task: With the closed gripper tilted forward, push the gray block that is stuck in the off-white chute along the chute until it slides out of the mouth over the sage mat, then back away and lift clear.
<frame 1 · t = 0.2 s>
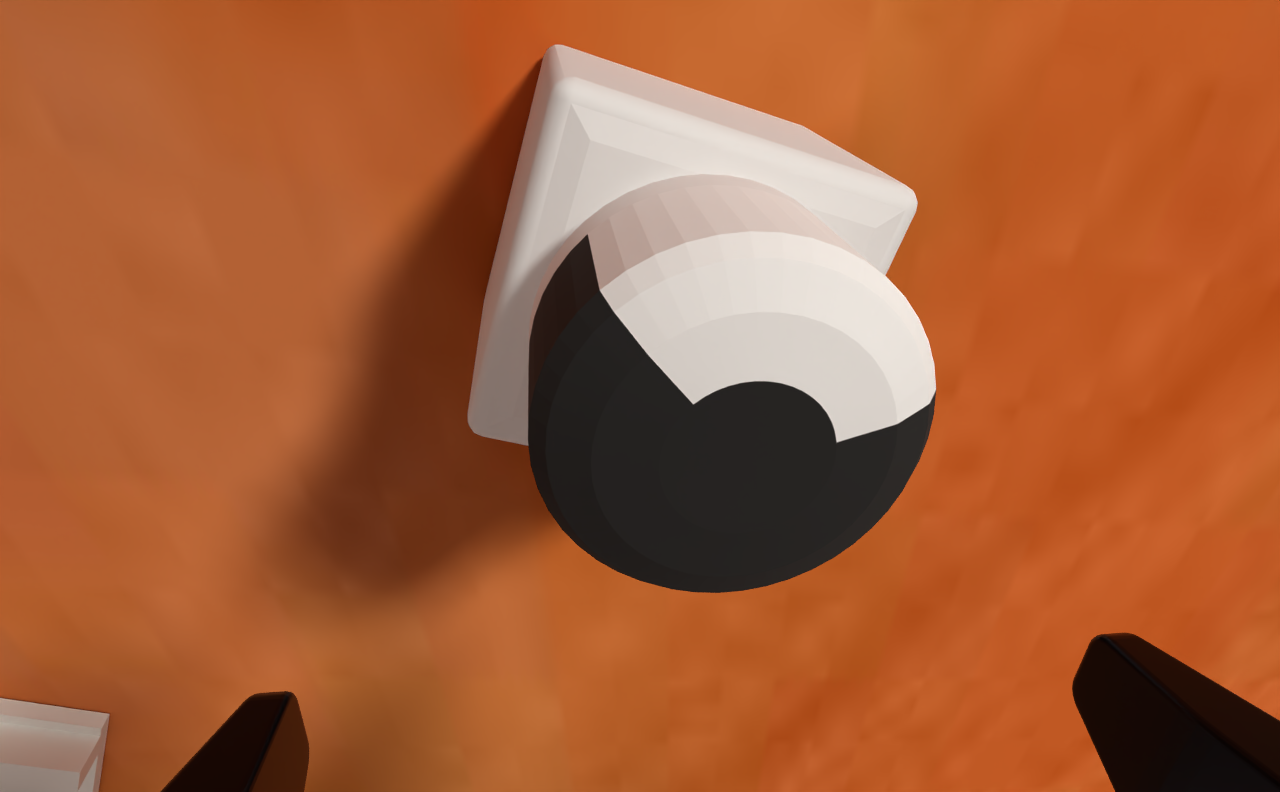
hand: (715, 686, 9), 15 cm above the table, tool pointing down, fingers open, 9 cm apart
medicine bottle: (640, 217, 21), on the table
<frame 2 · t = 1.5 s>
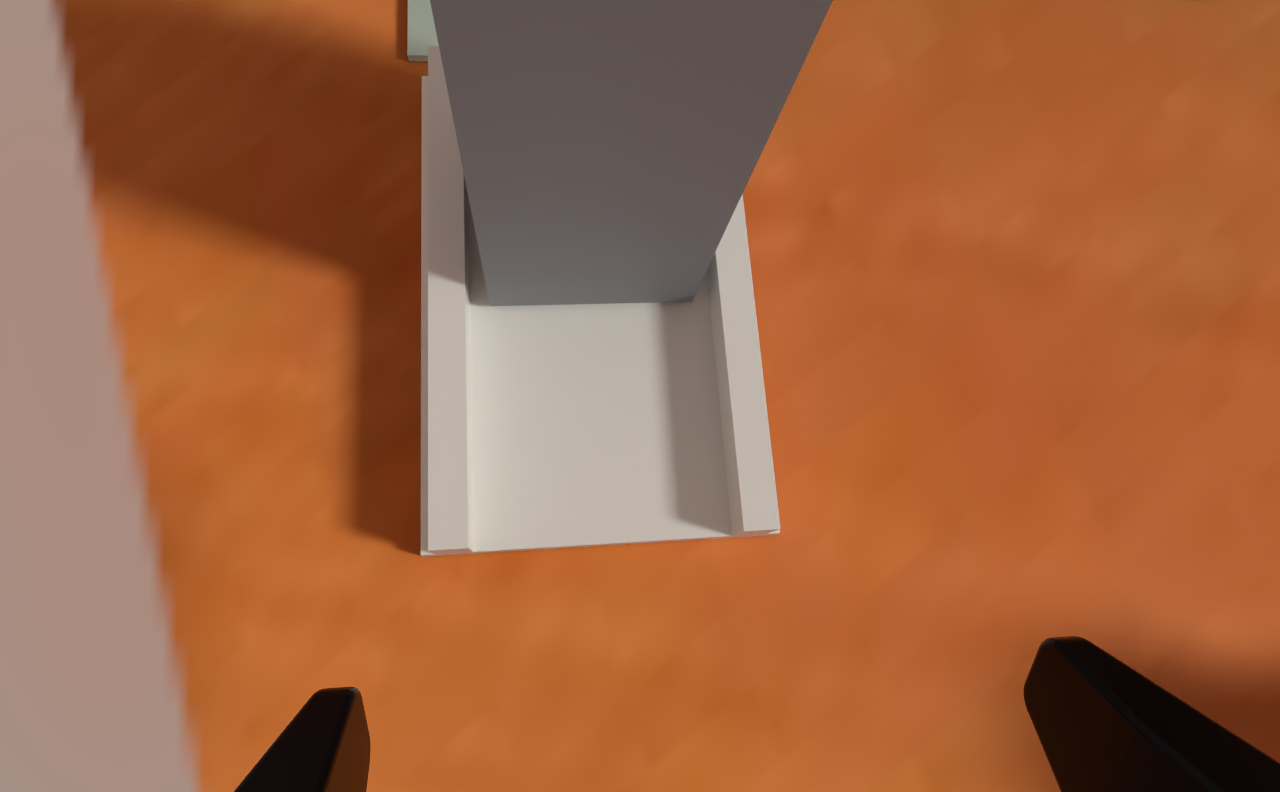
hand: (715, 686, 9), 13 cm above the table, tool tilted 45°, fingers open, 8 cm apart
gray block: (600, 72, 18), point 7 cm above the table, slide at 0.0 cm
off-white chute: (586, 226, 25), on the table
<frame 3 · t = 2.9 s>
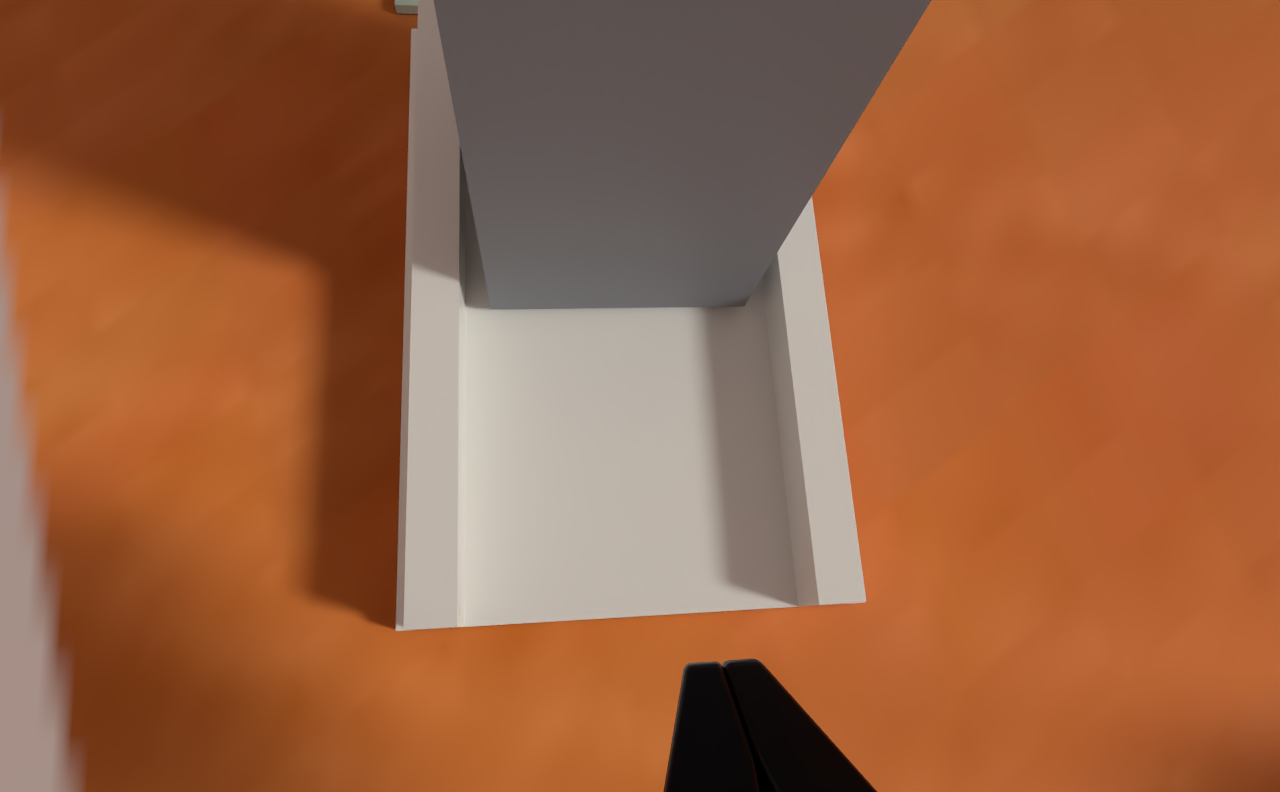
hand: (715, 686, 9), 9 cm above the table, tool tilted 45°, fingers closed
off-white chute: (610, 213, 20), on the table
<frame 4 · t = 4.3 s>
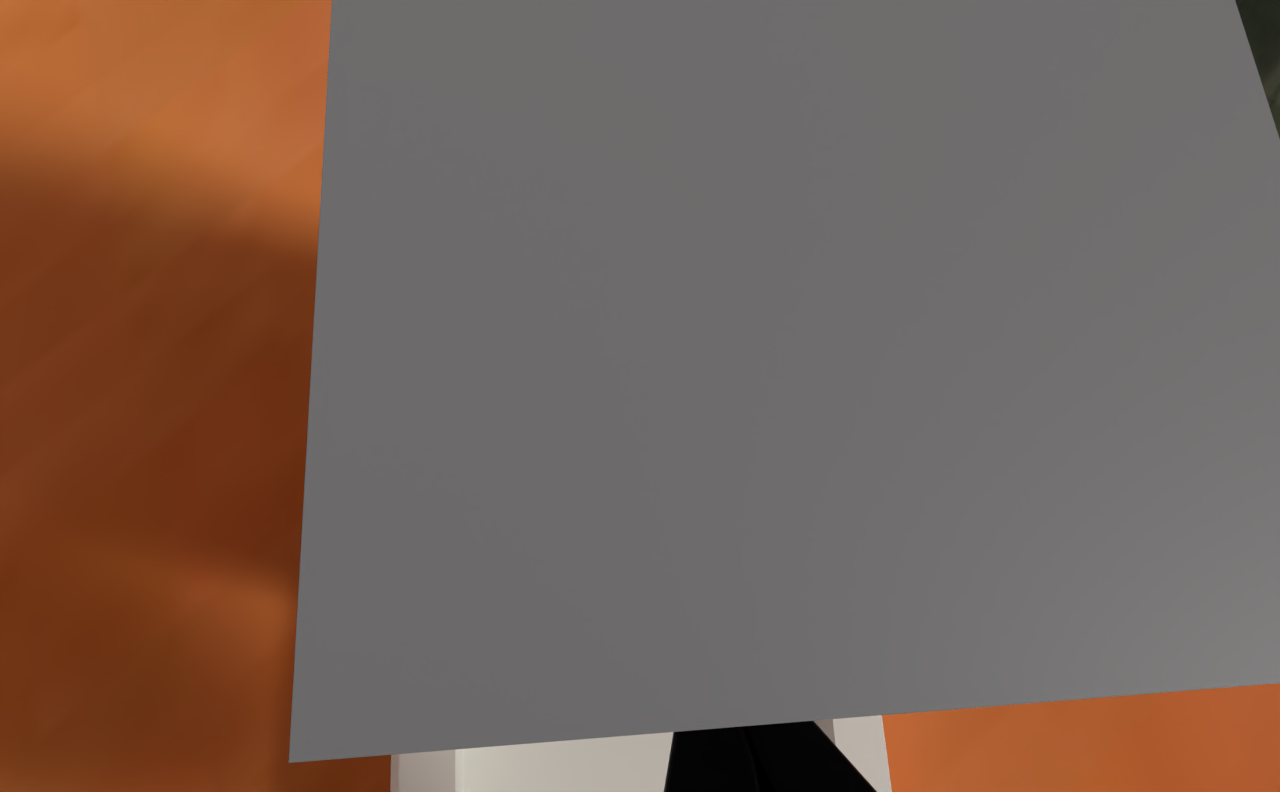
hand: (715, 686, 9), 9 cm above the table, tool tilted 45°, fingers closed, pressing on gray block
gray block: (676, 429, 11), point 7 cm above the table, slide at 1.0 cm, touching gripper
off-white chute: (628, 550, 18), on the table
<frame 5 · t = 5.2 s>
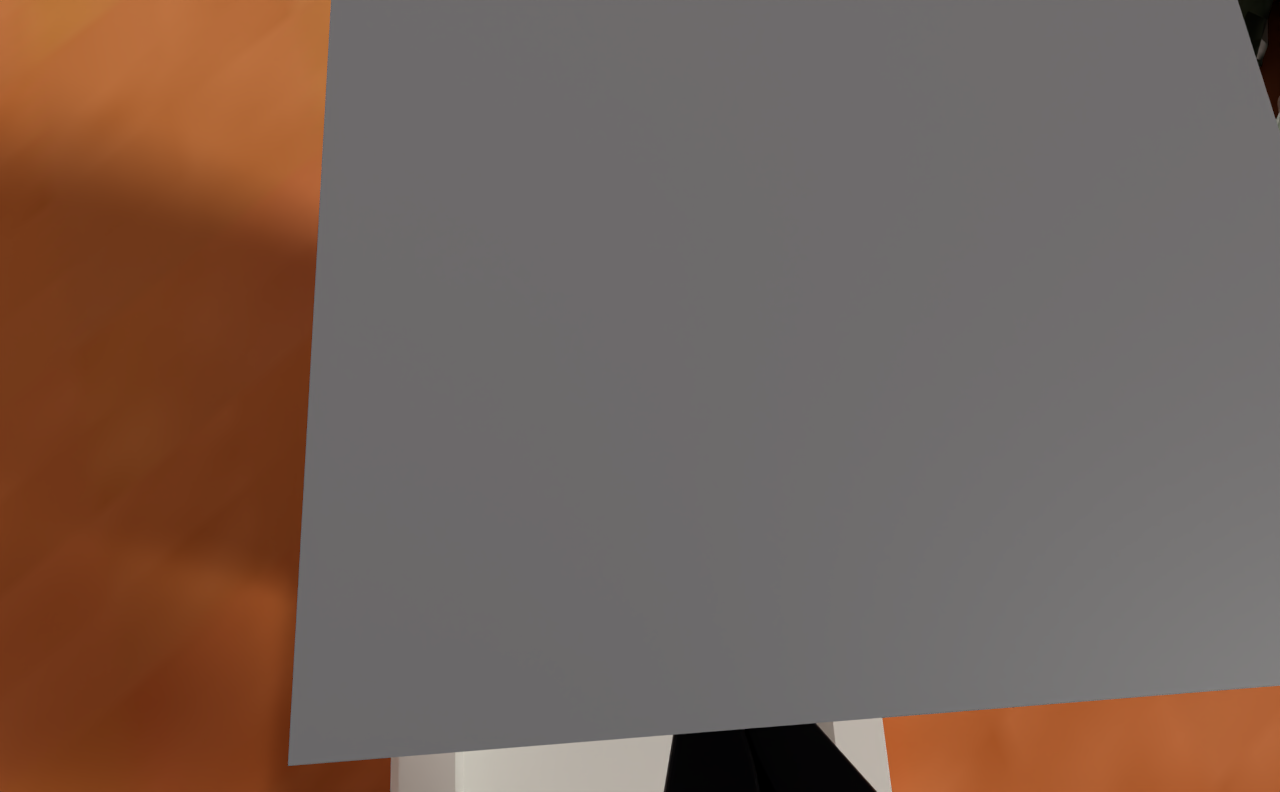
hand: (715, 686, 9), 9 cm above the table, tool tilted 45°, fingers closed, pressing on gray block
gray block: (676, 428, 11), point 7 cm above the table, slide at 6.2 cm, touching gripper
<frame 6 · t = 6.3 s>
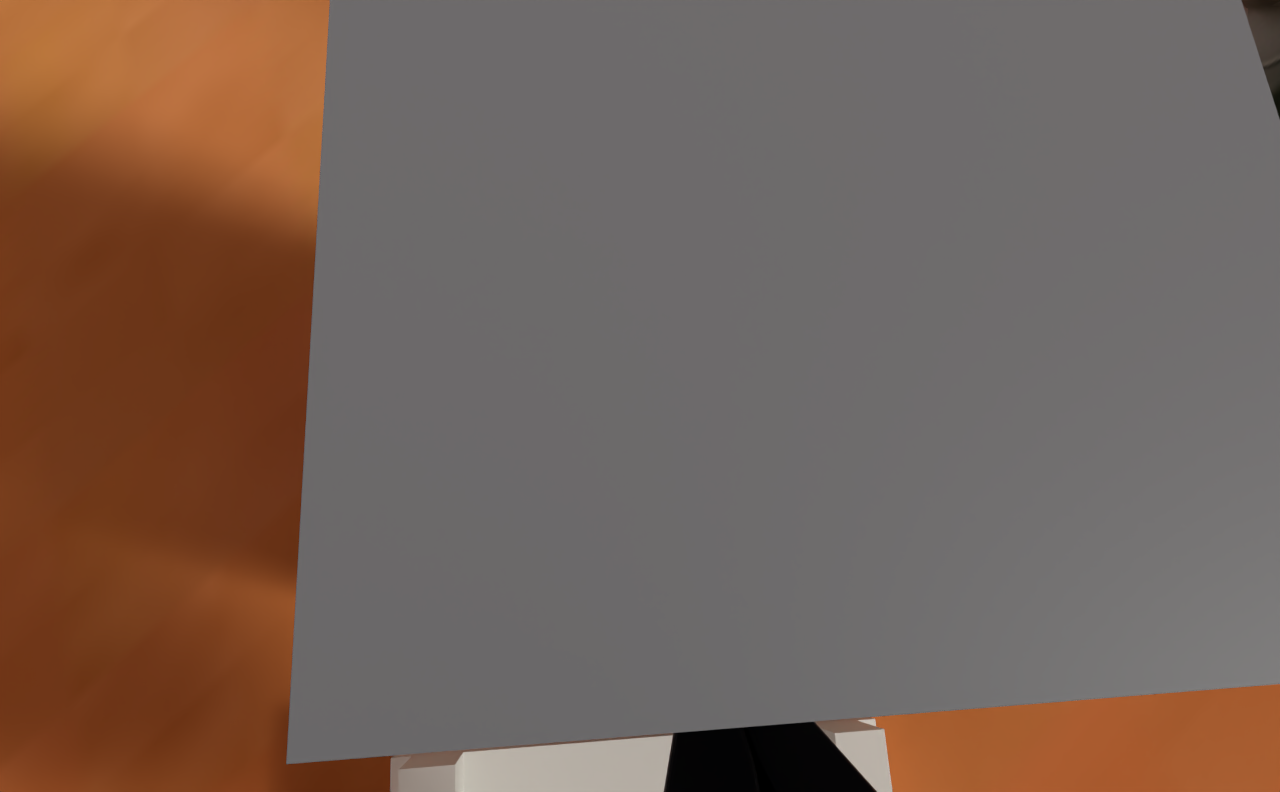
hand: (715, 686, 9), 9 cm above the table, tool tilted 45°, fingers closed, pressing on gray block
gray block: (676, 427, 11), point 7 cm above the table, slide at 9.9 cm, touching gripper
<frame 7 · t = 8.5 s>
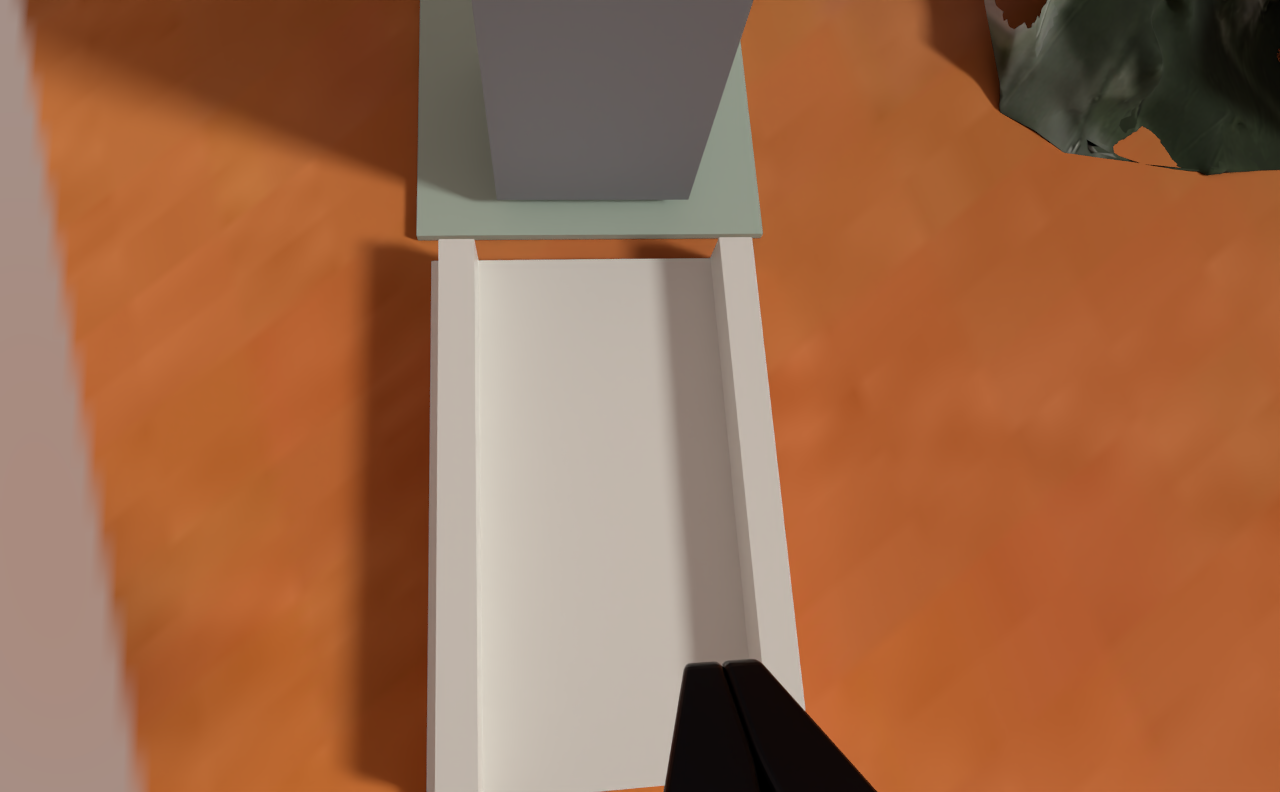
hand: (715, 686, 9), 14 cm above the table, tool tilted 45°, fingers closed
sage mat: (587, 102, 26), on the table
off-white chute: (603, 420, 23), on the table
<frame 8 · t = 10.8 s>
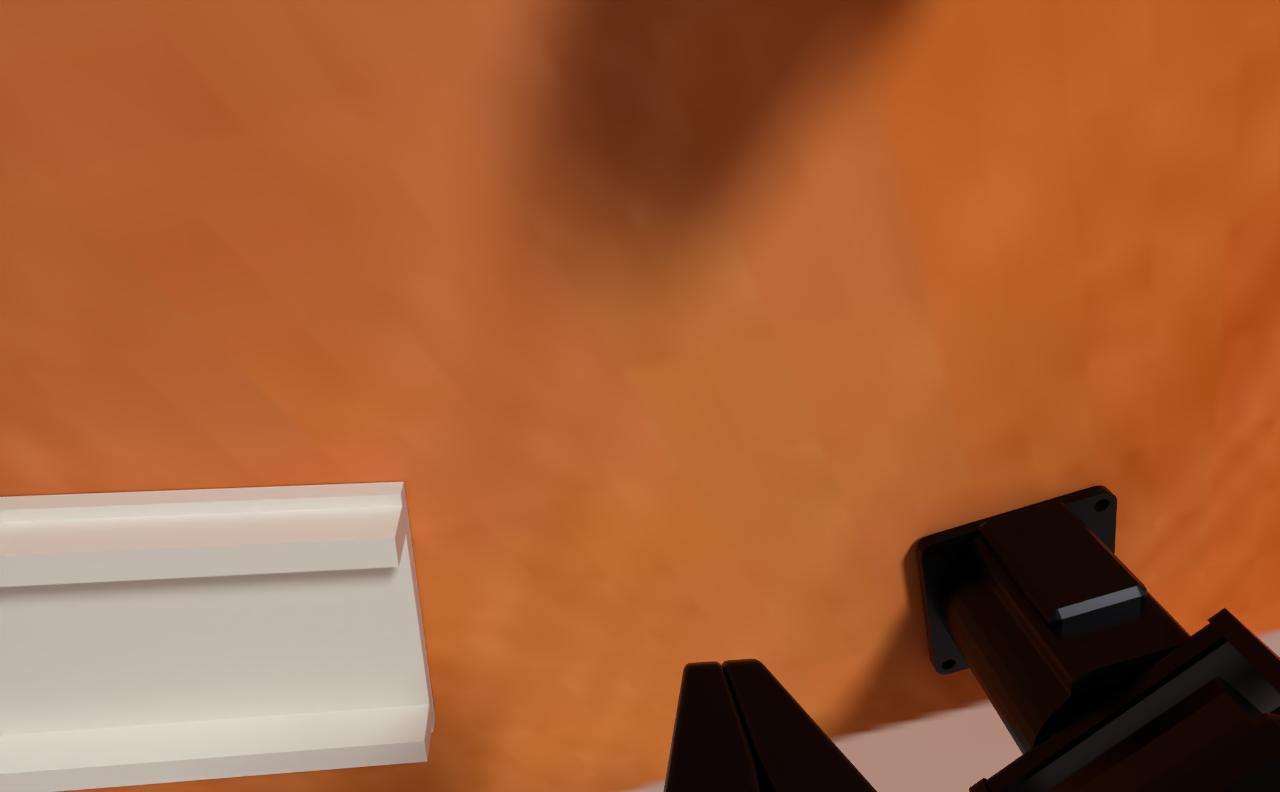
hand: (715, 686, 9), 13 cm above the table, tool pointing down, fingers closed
off-white chute: (79, 630, 23), on the table
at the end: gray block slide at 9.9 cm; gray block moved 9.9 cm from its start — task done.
